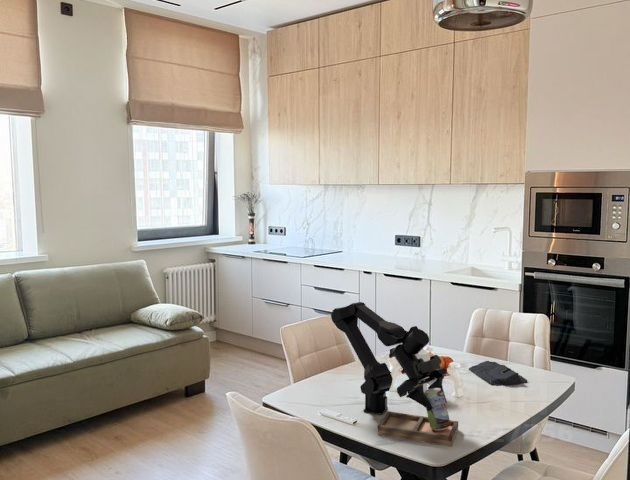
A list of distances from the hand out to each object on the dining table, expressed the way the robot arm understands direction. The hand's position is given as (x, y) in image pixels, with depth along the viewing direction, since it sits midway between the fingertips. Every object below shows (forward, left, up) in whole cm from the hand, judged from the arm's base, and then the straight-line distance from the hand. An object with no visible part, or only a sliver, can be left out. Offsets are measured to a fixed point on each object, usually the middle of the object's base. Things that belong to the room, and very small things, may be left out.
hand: (438, 406), depth 171 cm
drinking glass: (-13, +34, -9) cm, 38 cm away
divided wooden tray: (-6, 0, -9) cm, 11 cm away
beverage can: (0, +1, -7) cm, 8 cm away
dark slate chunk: (+11, +62, -10) cm, 64 cm away
